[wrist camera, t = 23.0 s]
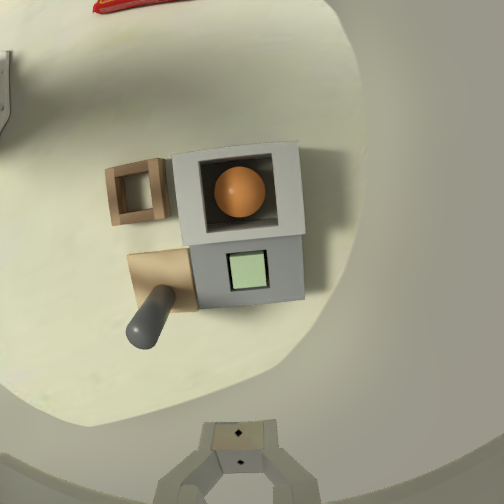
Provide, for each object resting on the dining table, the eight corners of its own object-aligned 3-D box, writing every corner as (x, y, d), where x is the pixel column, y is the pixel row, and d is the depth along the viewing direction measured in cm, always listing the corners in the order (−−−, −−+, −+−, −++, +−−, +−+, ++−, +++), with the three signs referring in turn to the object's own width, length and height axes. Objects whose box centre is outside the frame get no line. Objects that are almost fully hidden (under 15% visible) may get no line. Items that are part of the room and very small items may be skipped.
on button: (231, 250, 34) (229, 257, 31) (262, 247, 34) (263, 253, 31) (235, 279, 35) (233, 288, 32) (265, 276, 34) (266, 285, 32)
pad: (129, 254, 34) (126, 255, 34) (188, 247, 34) (186, 249, 33) (141, 311, 36) (139, 314, 36) (198, 308, 36) (197, 311, 35)
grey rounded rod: (148, 286, 34) (121, 322, 25) (171, 282, 34) (151, 318, 25) (155, 309, 35) (132, 350, 25) (178, 306, 35) (161, 347, 25)
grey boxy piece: (185, 159, 32) (171, 154, 26) (289, 147, 31) (297, 140, 26) (204, 297, 36) (195, 319, 30) (300, 288, 35) (308, 309, 30)
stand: (114, 169, 32) (104, 169, 29) (164, 159, 32) (157, 157, 29) (120, 222, 33) (112, 226, 31) (170, 215, 33) (164, 218, 31)
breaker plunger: (215, 170, 31) (211, 169, 28) (261, 165, 31) (262, 164, 28) (220, 216, 33) (217, 219, 30) (266, 211, 33) (267, 214, 30)
